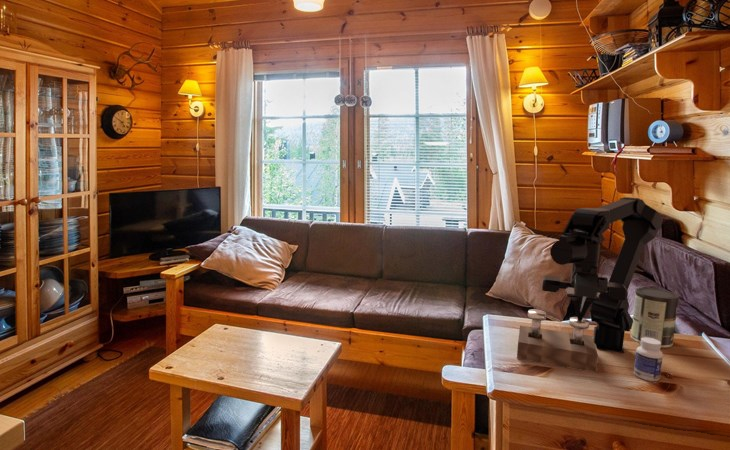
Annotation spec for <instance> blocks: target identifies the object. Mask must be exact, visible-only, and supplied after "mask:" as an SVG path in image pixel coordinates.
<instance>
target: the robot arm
mask: <svg viewBox="0 0 730 450" xmlns="http://www.w3.org/2000/svg"><path fill="white" fill-rule="evenodd" d="M662 219H663V218H662V217H661V216H660V214H659V213H658V211H657V210H656V209H654V208H653V207H651V206H649V205H648V204H646V203H645V201H644V200H643V199H641V198H640V197H639V198H638V197H626V196H624V197H620V198H619V199H618V200H615V201H612V202H609V203H608V204H605V205H602V206H599V207H580V208H577V209H575V210H574V212H573V213H572V214H571V216H570V218H569V220H568V222H567V223H566V226H565V228H564V230H563V232H562V234H561V235H559V236H558V237H559V238H558V240H557V241H555V242H553V244H552V245H551V247H550V250H549V252H550V253H549V254H550V257H551V259H552V261H553V262H555V264H558V265H561V266H562V265H563V266H564V265H569V264H571V274H570V281H564V280H560V277H559V276H555V275H543V276H542V279H541V280H542V281H541V290H542V291H543V292H551V293H557V292H558V291H560V289H563V290H565V295H566V297H568V298H571V301H572V302H573V306H574V309H575V314H576V317H577V318H578V320H579V321H582V319H583V318H584V316H585V315H586V312H587V311H588V309H589V314H590V322H593V323H596V326H594V327H593V328H594V329H593V336H592V337H593V340H594V344H595V347H596V349H597V350H598V349H599V350H602V351H603V350H605V351H610V352H617V353H625V350H624V340H625V333H626V332H631V330H632V324H633V317H632V316H631V315H630V313H629V308H630V304H629V299H628V294H629V293H628V292H629V291H628V290H629V288H630V285H631V282H632V280H633V277H634V274H635V272H636V269H637V265H638V263H639V261H640V258H641V255H642V253H643V250H644V248H645V246H646V244H648V243H649V242H651V241H652V240H654V239H656V236H657V234H658V232H659V230H661V228H662V224H663V220H662ZM617 221H621V222H622V226H621V229H622V233H623V237H624V240H623V243H622V246H621V248H620V250H619V253H618V255H617V259H616V260H615V262H614V265H613V266H614V267H612V272H611V274H610V276H609V278H608V277H603V276H598V269H599V258H600V251H601V243H602V242H605V239H606V238H605V236H603V234H604V233H605V232H606V231H608V230H609V229H610V225H611V224H612V223H615V222H617ZM581 297H582V301H581V303H580V299H581Z"/></svg>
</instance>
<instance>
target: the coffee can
mask: <svg viewBox="0 0 730 450" xmlns="http://www.w3.org/2000/svg"><path fill="white" fill-rule="evenodd" d="M634 295H635V297H634V304H633V305H634V306H633V316H632V320H633V324H632V327H631V329H630V338H631V340H634V341H635V342H637V343H639V344H641V343H640V342H641V338H644V337H647V338H653V339H656V340H658V341H660V342H661V348H663V349H665V348H671V347H673V345H674V339H675V338H674V337H675V329H676V321H677V320H676V319H677V314H678V306H679V299H680V295H679V294H678V293H676V292H673V291H669V290H666V289H662V288H661V289H660V288H655V287H637V288H636V289H635V294H634Z"/></svg>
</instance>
